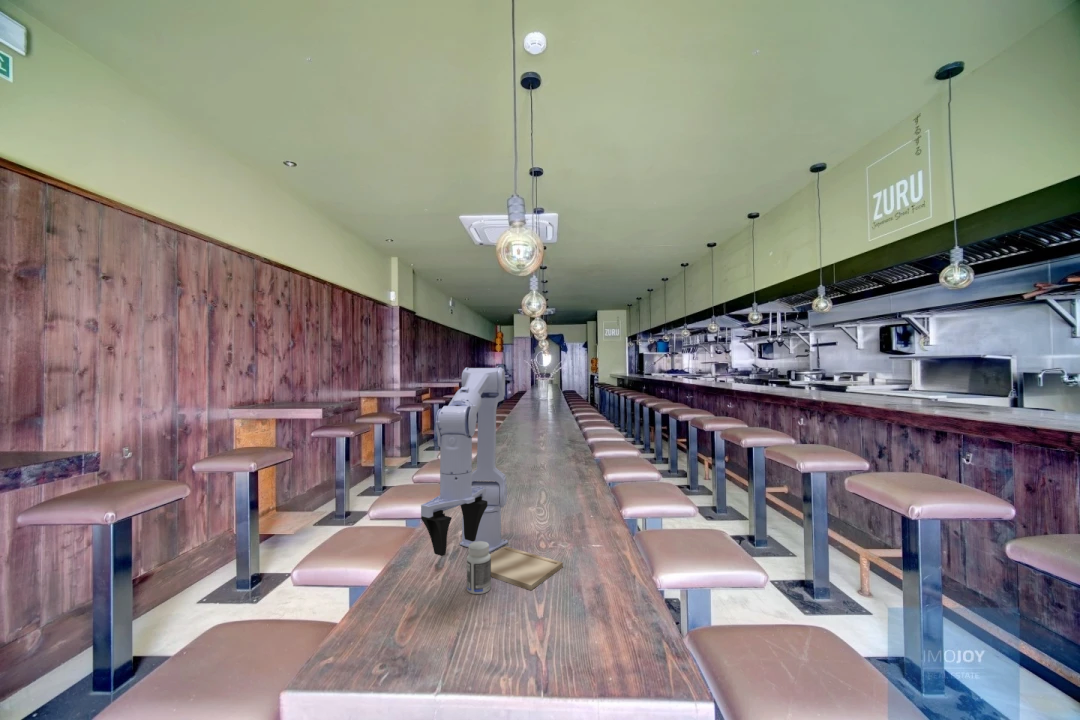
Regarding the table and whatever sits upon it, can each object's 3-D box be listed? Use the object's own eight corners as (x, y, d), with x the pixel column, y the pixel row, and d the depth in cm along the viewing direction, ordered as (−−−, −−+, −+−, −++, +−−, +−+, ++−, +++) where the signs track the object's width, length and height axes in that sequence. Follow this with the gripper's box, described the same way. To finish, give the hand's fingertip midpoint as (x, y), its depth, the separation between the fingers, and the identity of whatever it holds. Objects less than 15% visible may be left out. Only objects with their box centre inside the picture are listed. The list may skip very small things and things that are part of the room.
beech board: (470, 569, 88) (470, 564, 88) (505, 550, 98) (505, 545, 98) (531, 590, 79) (531, 584, 79) (562, 567, 89) (562, 561, 89)
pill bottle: (495, 584, 82) (495, 541, 82) (484, 596, 77) (484, 551, 78) (473, 581, 83) (473, 539, 84) (461, 592, 79) (462, 547, 79)
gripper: (441, 482, 67) (440, 567, 66) (498, 466, 79) (498, 538, 78) (413, 476, 71) (412, 557, 70) (471, 462, 83) (470, 531, 82)
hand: (455, 546), depth 75 cm, fingers open, 7 cm apart
